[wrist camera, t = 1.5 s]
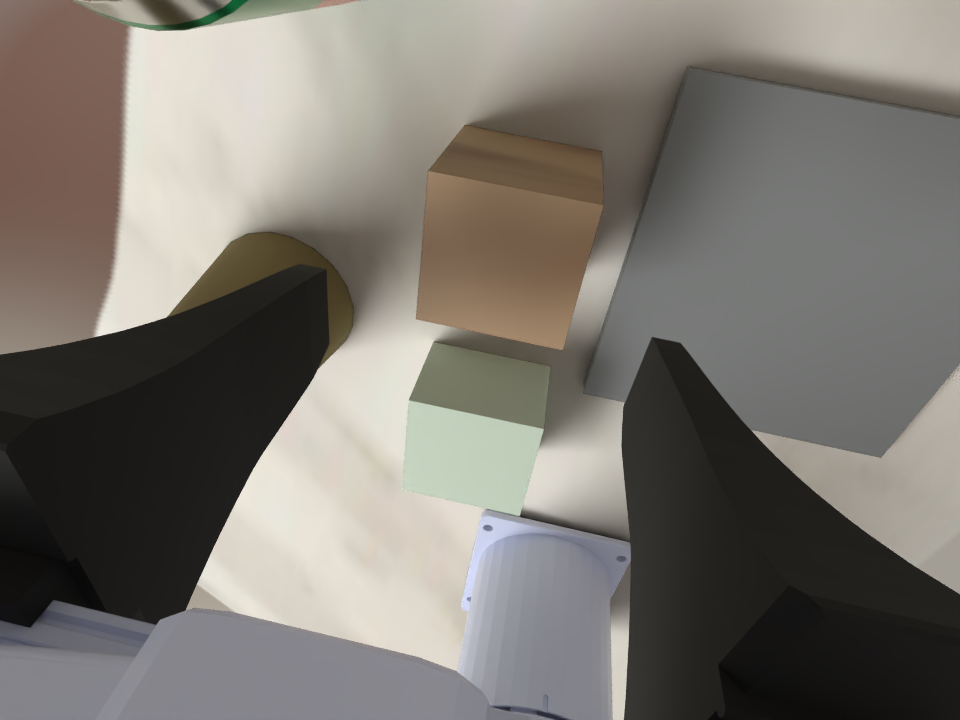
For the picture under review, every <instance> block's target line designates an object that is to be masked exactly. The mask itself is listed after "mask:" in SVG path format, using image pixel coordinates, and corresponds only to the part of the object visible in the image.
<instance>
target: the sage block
mask: <svg viewBox="0 0 960 720" xmlns="http://www.w3.org/2000/svg"><path fill="white" fill-rule="evenodd" d="M550 369H551V366H547V365H542V364H537V363H532V362H527V361H523V360H518V359H513V358H508V357H503V356H499V355H494V354H489V353H484V352H479V351H475V350H470V349H465V348H460V347H455V346H451V345H446V344H441V343H436V342H433V344H432V347H431V349H430V351H429V354H428V356H427V358H426V361H425V363H424V365H423V368H422V370H421V373H420V375H419V377H418V380H417V382H416V384H415V387H414V389H413V391H412V394H411V396H410V398H409V403H408V417H407V431H406V445H405V459H404V473H403V487H402V490H405V491H409V492H414V493H418V494H423V495H427V496H432V497H436V498H441V499H445V500H450V501H454V502H459V503H463V504H468V505H472V506H477V507H481V508H485V509H490V510H494V511H499V512H503V513H508V514H512V515H517V516H520V514H521V510H522V506H523V503H524V499H525V495H526V492H527V488H528V485H529V481H530V477H531V474H532V470H533V467H534V463H535V459H536V456H537V452H538V449H539V445H540V441H541V438H542V434H543V431H544V424H545V415H546V405H547V396H548V387H549V378H550Z"/></svg>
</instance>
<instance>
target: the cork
mask: <svg viewBox="0 0 960 720" xmlns="http://www.w3.org/2000/svg"><path fill="white" fill-rule="evenodd" d="M298 264H304V265H309V266H314V267H318V268H323V269H327V293H328V319H329V346H328V348H327V350H326V353H325V355H324V357H323V359H322V361H321V364H320V366H321V365H322V364H323V363H324V362H325V361H326V360H327V359H328V358H329V357H330V356H331V355H332V354H333V353H334V352H335V351H336V350H337V349H338V348H339V347H340V346H341V345H342V344H343V343H344V342H345V341H346V339H347V337H348V335H349V333H350V330H351V328H352V326H353V304H352V301H351V298H350V295H349V292H348V288H347V286H346V284H345V283H344V281H343V280H342V278H341V277H340V275H339V274H338V272H337V271H336V269H335V268H334V266H333V265H332V264H330V263H329V262H328V261H327V260H326V259H325V258H324V257H323V256H322V255H320V254H319V253H318V252H317V251H316V250H315V249H313V248H311V247H309V246H308V245H306V244H304V243H302V242H300V241H298V240H296V239H294V238H293V237H288V236H284V235H280V234H275V233H271V232H264V233H252V234H246V235H244V236H242V237H240V238H238V239H236V240H234V241H232V242H230V244H229V245H228V246H227V247H226V248H225V249H224V251H223V252H222V253H221V254H220V255H219V257H218V258H217V259H216V260H215V261H214V262H213V264H212V265H211V266H210V267H209V268H208V270H207V271H206V272H205V273H204V274H203V275H202V277H201V278H200V279H199V280H198V281H197V282H196V284H195V285H194V286H193V287H192V288H191V290H190V291H189V292H188V293H187V294H186V295H185V297H184V298H183V299H182V300H181V301H180V303H179V304H178V305H177V306H176V307H175V308H174V310H173V311H172V312H171V313H170V314H169V315H168V317H170V316H173V315H176V314H178V313H181V312H184V311H186V310H189V309H191V308H194V307H197V306H199V305H202V304H204V303H207V302H209V301H212V300H215V299H217V298H220V297H222V296H225V295H227V294H229V293H232V292H234V291H236V290H238V289H241V288H243V287H245V286H248V285H250V284H252V283H254V282H257V281H259V280H261V279H263V278H266V277H268V276H270V275H272V274H275V273H277V272H279V271H282V270H284V269H287V268H289V267H292V266H295V265H298ZM320 366H319V367H320Z"/></svg>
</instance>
